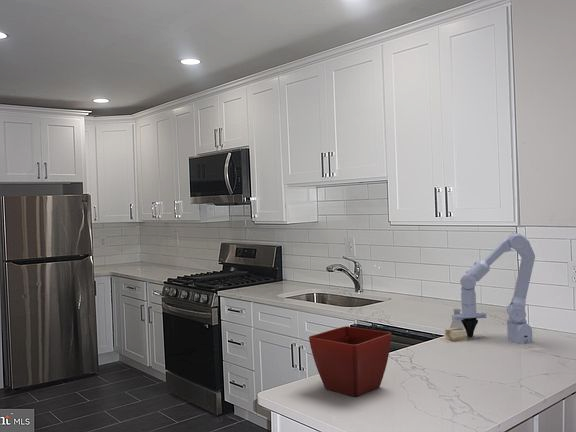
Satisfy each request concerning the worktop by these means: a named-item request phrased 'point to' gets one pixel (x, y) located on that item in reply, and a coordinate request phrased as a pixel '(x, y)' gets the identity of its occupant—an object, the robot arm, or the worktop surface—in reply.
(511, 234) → the robot arm
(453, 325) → the flask
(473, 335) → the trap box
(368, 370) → the plant pot
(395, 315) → the worktop surface
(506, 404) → the worktop surface
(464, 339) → the birch block
